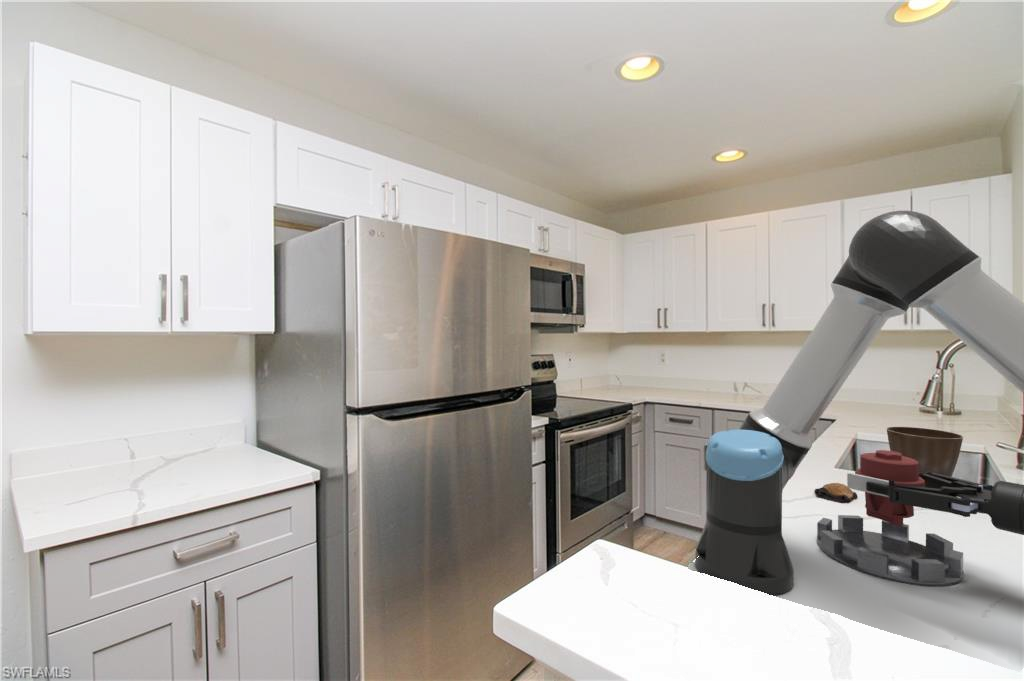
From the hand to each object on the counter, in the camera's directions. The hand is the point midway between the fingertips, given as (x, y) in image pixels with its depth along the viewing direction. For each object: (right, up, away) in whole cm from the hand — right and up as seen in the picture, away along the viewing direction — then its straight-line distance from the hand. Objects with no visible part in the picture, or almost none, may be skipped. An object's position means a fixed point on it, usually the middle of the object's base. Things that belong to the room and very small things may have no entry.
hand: (861, 475), depth 90 cm
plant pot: (+40, -14, +32) cm, 53 cm away
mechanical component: (+2, -7, -4) cm, 8 cm away
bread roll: (+16, -14, +30) cm, 37 cm away
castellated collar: (+2, -14, -3) cm, 14 cm away
